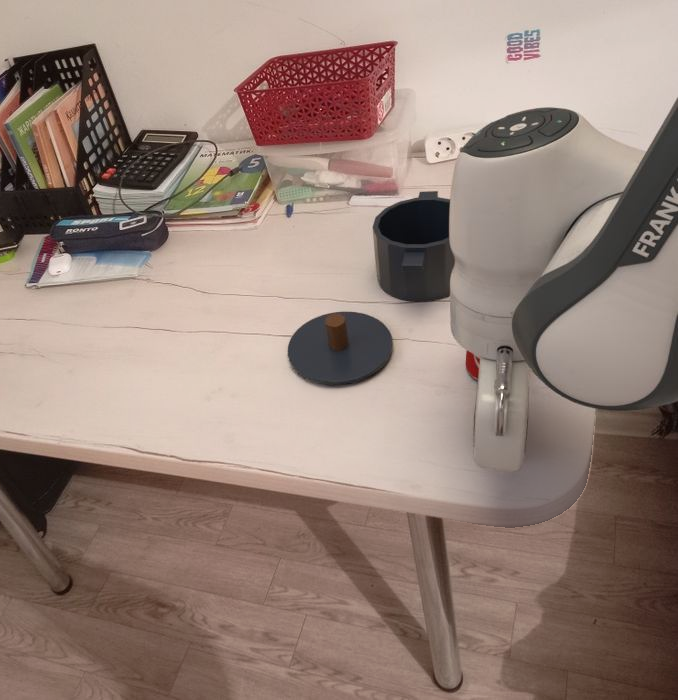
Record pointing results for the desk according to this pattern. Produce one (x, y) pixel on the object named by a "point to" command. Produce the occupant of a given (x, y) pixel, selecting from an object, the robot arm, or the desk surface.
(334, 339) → the pot lid
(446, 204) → the pot
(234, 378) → the desk surface
